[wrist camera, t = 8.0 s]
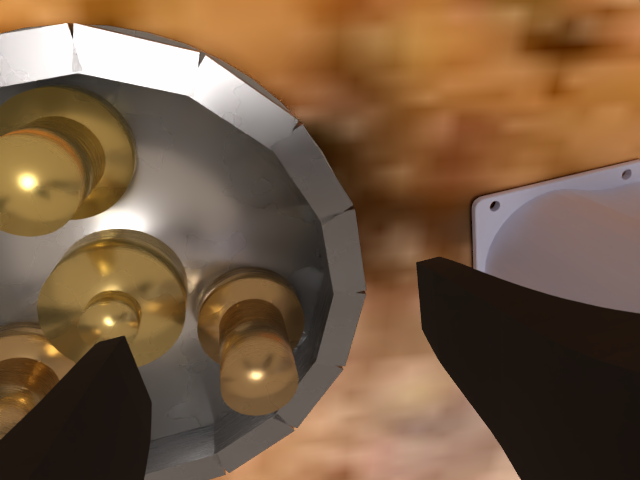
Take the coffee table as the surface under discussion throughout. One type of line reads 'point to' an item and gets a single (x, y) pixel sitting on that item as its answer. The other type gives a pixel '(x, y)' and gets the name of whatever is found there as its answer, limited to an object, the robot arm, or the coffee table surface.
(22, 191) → the gear
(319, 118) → the coffee table surface
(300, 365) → the carrier
